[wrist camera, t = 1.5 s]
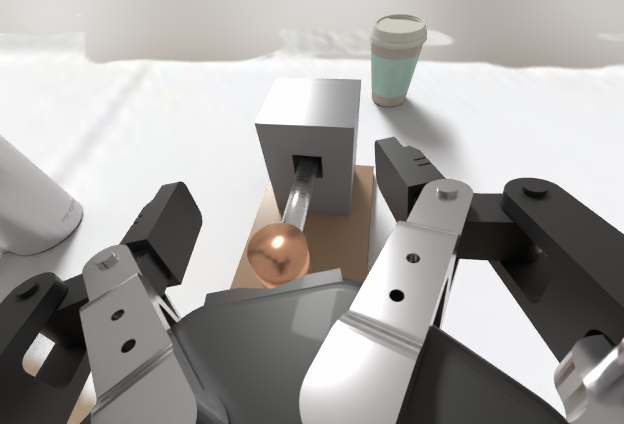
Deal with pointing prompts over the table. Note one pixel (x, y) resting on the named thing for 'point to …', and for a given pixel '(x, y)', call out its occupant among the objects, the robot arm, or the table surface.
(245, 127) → the table surface
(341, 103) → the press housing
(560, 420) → the robot arm
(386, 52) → the coffee cup
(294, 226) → the plunger
